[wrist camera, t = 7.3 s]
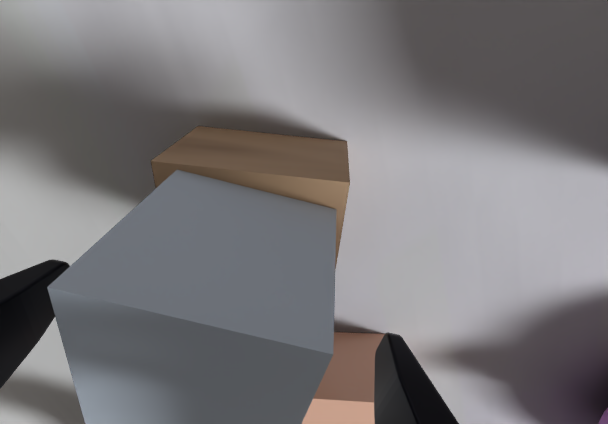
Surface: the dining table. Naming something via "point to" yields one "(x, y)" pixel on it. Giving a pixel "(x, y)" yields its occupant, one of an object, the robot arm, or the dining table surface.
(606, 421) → the teapot
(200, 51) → the dining table surface
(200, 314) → the slate cube
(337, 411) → the terracotta cube
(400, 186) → the dining table surface
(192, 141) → the walnut block
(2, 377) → the robot arm
